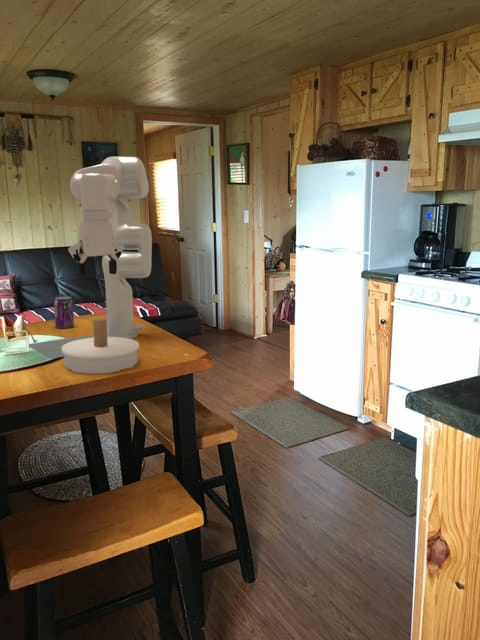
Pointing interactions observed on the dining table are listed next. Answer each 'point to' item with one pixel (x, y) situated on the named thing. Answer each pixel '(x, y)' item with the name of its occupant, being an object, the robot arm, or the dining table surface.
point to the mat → (54, 346)
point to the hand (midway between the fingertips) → (98, 275)
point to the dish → (100, 364)
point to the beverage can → (63, 312)
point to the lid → (100, 344)
